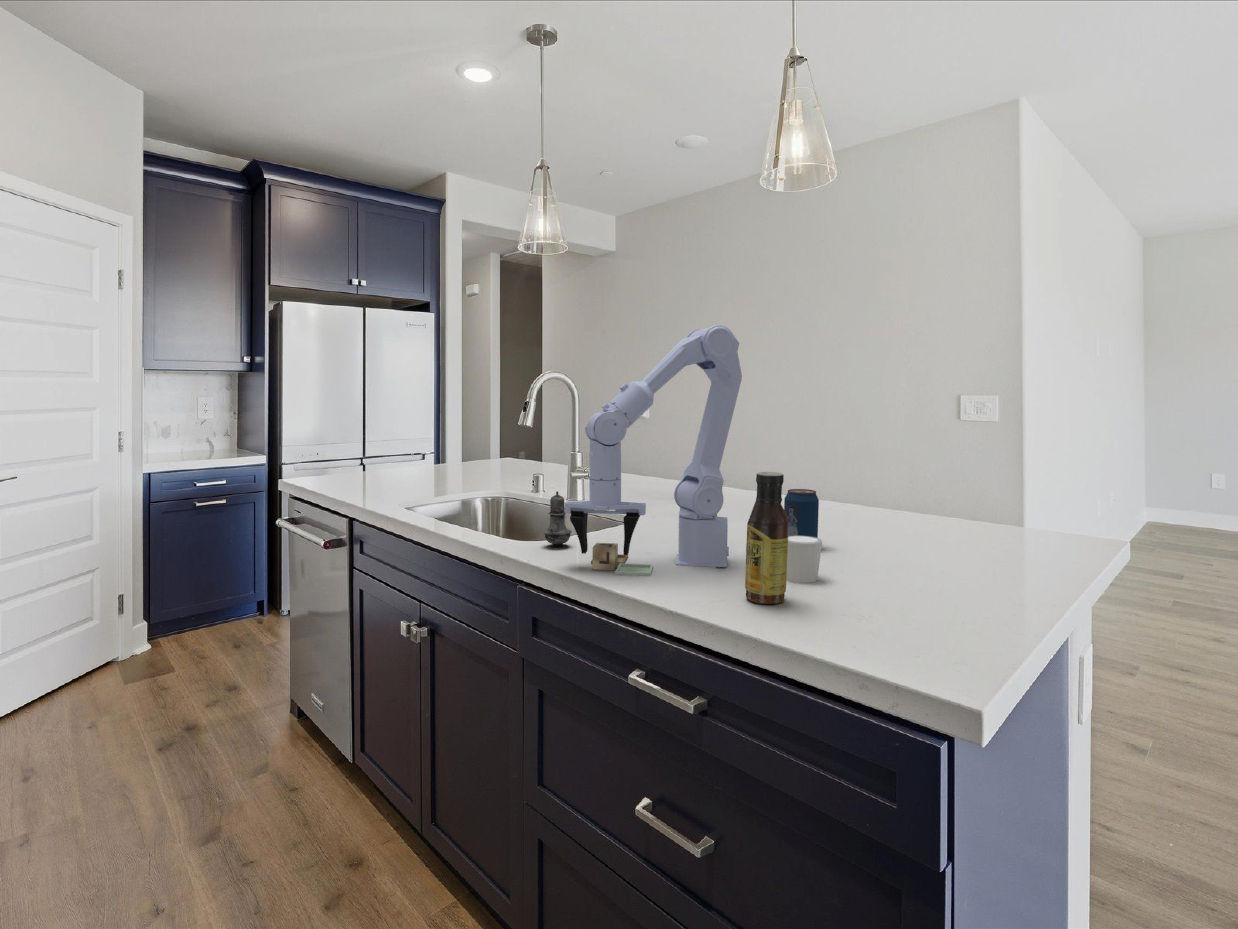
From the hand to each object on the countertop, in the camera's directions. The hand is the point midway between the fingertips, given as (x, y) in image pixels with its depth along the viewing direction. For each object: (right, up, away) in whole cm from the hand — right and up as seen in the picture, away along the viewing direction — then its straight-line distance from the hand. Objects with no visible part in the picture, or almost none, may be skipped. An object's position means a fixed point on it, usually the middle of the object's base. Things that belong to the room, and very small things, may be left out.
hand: (605, 553), depth 124 cm
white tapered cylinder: (+34, -4, -6) cm, 35 cm away
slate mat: (0, -3, 0) cm, 3 cm away
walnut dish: (+1, -2, +6) cm, 6 cm away
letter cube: (0, -3, 0) cm, 3 cm away
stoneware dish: (+5, -3, -2) cm, 6 cm away
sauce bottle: (+25, -5, -18) cm, 32 cm away
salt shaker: (-10, -2, +18) cm, 20 cm away
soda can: (+40, -2, +19) cm, 45 cm away
